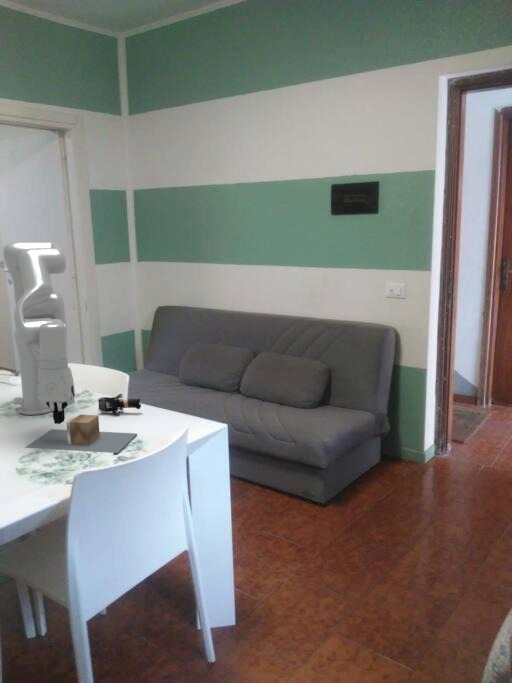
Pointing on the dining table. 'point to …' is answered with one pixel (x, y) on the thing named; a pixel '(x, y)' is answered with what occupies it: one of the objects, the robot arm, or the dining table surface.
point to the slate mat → (104, 443)
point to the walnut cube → (83, 429)
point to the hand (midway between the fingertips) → (59, 422)
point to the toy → (117, 404)
